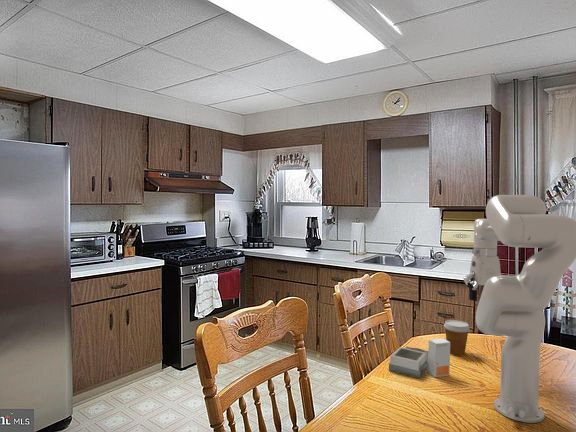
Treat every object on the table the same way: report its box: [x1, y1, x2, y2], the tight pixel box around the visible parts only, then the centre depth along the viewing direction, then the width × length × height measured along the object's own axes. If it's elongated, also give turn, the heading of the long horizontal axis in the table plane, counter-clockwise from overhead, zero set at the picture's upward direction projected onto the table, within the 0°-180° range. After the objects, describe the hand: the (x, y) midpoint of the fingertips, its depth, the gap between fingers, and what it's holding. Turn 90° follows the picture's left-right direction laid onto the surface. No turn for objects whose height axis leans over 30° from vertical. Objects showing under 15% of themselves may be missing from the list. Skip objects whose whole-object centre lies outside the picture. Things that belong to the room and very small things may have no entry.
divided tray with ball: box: [388, 346, 429, 379], centre depth 146 cm, size 20×11×6 cm, turn 146°
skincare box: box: [427, 337, 451, 378], centre depth 138 cm, size 6×4×12 cm
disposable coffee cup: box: [443, 319, 470, 357], centre depth 157 cm, size 10×10×12 cm
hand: (484, 299), depth 143 cm, fingers open, 9 cm apart
